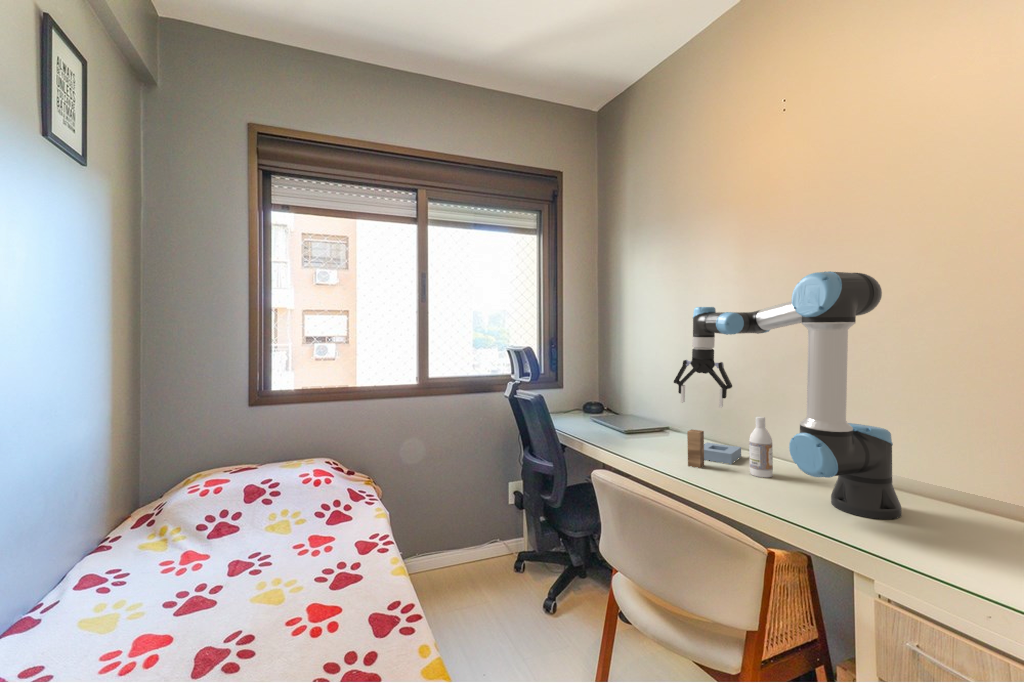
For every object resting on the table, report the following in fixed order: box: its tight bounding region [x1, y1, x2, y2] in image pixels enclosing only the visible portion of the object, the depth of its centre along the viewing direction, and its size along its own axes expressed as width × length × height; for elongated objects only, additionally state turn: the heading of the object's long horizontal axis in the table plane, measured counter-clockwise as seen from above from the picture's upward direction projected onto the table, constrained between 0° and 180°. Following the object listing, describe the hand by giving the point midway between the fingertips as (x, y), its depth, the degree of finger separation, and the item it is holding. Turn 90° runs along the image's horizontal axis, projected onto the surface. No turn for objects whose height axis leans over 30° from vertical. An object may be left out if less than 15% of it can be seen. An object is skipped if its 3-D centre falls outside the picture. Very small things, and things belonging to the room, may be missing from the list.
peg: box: [686, 429, 705, 469], centre depth 164 cm, size 4×4×13 cm
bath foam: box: [748, 416, 774, 479], centre depth 152 cm, size 7×7×20 cm
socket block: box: [704, 442, 742, 465], centre depth 174 cm, size 13×13×4 cm
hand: (701, 404), depth 165 cm, fingers open, 13 cm apart
